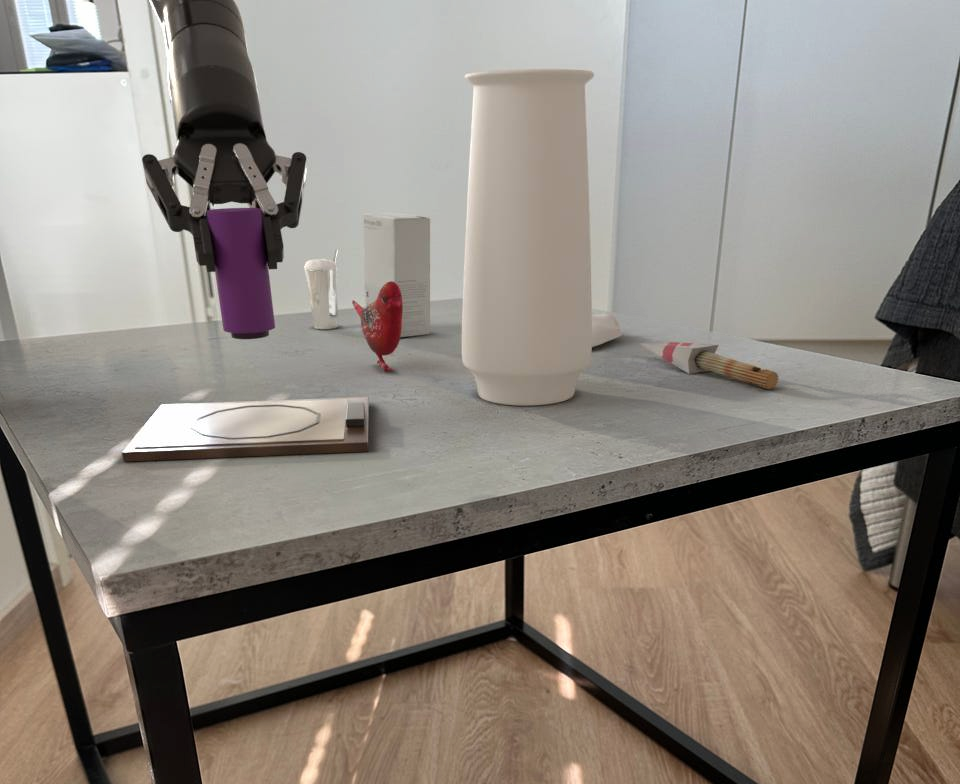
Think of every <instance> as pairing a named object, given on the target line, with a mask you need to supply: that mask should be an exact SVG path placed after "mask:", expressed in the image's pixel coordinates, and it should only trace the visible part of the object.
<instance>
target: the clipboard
mask: <svg viewBox="0 0 960 784" xmlns="http://www.w3.org/2000/svg"><path fill="white" fill-rule="evenodd" d="M369 425H370V398H369V396H357V397H329V398H303V399H275V400H273V399H272V400H251V401H249V400H246V401H245V400H244V401H221V402H197V403H196V402H195V403H169V404H168V403H166V404H160V405H159V407H158V408H157V409H156V411H154V413H153V414H152V416H150V418H149V419H148V420H147V422H145V424H144V425H143V426H142V427H141V429H140V430H139V431H138V432H137V434H136V435H135V436H134V437H133V439H132V440H131V441H130V442H129V443H128V445H126V447H125V448H124V449H123V451H121V456H122V460H123V462H124V463H125V462H126V463H127V462H150V461H152V462H153V461H154V462H155V461H173V460H174V461H175V460H176V461H177V460H199V459H200V460H201V459H223V458H224V459H225V458H246V457H249V458H250V457H270V456H292V455H294V456H295V455H296V456H297V455H313V454H314V455H316V454H339V453H340V454H341V453H364V452H365V453H366V452H367V453H368V452H369V427H370V426H369Z"/></svg>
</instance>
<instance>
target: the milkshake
mask: <svg viewBox="0 0 960 784" xmlns="http://www.w3.org/2000/svg"><path fill="white" fill-rule="evenodd" d="M338 251H339V250H338V249H335V252H334V254H333V259H326V258H314V259H309V260H307V261H306V262H305V264H304V266H303V269H304V275H305V280H306V285H307V290H308V297H309V303H310V304H309V305H310V308H311V315H312V322H313V327H314V329H317V330H333V329H337V328H338V327H339V319H338V317H339V316H338V315H339V314H338V313H339V311H338V264H337V263H336V260H337V255H338Z"/></svg>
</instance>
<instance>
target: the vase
mask: <svg viewBox="0 0 960 784" xmlns="http://www.w3.org/2000/svg"><path fill="white" fill-rule="evenodd" d="M594 77H595V73H594V71H592V70H585V69H584V70H583V69H566V68H565V69H563V68H560V69H559V68H544V69H543V68H537V69H536V68H533V69H532V68H531V69H503V70H487V71H486V70H485V71H484V70H483V71H475V72H470V73H466V74H465V75H464V80H465V81H466V82H467V83H468V84H470V85H471V86H472V88H473V90H472V91H473V93H472V109H471V110H472V111H471V125H470V126H471V127H470V143H469V144H470V145H469V160H468V178H467V196H466V197H467V199H466V216H465V217H466V218H465V236H464V237H465V239H464V262H463V283H462V284H463V286H462V313H461V314H462V316H461V361H462V364H463V366H464V367H465V368H466V369H468V370H469V372H470V373H471V374H472V376H473V378H474V380H475V384H476V390H477V395H478V396H479V397H480V398H481V399H482V400H485V401H486V402H490V403H493V404H499V405H506V406H522V407H523V406H525V407H528V406H530V407H531V406H545V405H553V404H557V403H561V402H562V403H563V402H565V401H567V400H570V399H572V397H573V396H574V395H575V392H576V387H577V383H578V380H579V377H580V375H581V374H582V372H583V371H584V370H585V369H586V368H587V367H588V366H590V364H591V362H592V351H593V350H592V349H593V347H592V311H593V306H592V305H593V302H592V299H593V298H592V258H591V257H592V256H591V253H592V252H591V251H592V250H591V219H590V216H591V215H590V191H589V190H590V188H589V159H588V156H589V155H588V135H587V134H588V132H587V110H586V109H587V107H586V106H587V105H586V84H587V83H589V82H590V81H591V80H593V78H594Z"/></svg>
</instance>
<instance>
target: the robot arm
mask: <svg viewBox="0 0 960 784" xmlns="http://www.w3.org/2000/svg"><path fill="white" fill-rule="evenodd" d="M149 2H150V5H151V6H152V9H153V10H154V13H155V15H156V16H157V17H156V18H157V19H158V21H159V23H160V26H161V28H162V31H163V36H164V43H165V49H166V50H165V51H166V57H167V83H168V92H169V103H170V106H171V111H172V117H173V118H172V119H173V124H174V125H173V126H174V132H175V140H176V146H175V149H174V151H173V153H172V156H171V157H166V158H163V159H160V160H158V158H157V157H156V156H155V155H154V154H151V153H147V154H144V155H143V156H142V158H141V162H142V168H143V172H144V177H145V182H146V186H147V187H148V189H149V191H150V193H151V195H152V197H153V199H154V200H155V203H156V204H157V206H158V208H159V210H160V212H161V215H162V216H163V218H164V219H165V222H166V224H167V225H168V227H169V229H170V230H171V231H172V232H174V233H180V232H182V231H187V232H189V233H190V234H191V235H192V238H193V246H194V253H195V259H196V262H197V264H198V265H199V267H203V266H206V267H205V268H206V272H207V273H215V272H216V270H215V262H214V254H213V248H212V241H211V235H210V228H209V222H208V219H207V213H206V211H207V210H212V209H216V205H223V204H228V203H235V204H236V203H237V204H247V206H248V208H260V209H261V211H262V221H263V229H264V238H265V246H266V255H267V263H268V270H278V263H283V261H284V258H285V255H284V253H285V252H284V247H285V246H284V240H283V234H282V229H283V228H285V227H287V228H289V229H296V228H298V226H299V224H300V217H301V211H302V208H303V207H302V206H303V200H304V194H305V189H306V183H307V155H306V154H305V153H303V152H301V151H295V152H294V153H292V156H291V157H286V156H282V155H276V152H275V150H274V148H272V146H271V145H270V144H269V143H268V142H269V141H268V139H267V134H266V128H265V123H264V116H263V111H262V105H261V100H260V95H259V90H258V84H257V79H256V74H255V69H254V68H253V65H252V61H251V59H250V56H249V51H248V45H247V38H246V33H245V27H244V23H243V18H242V14H241V12H240V9H239V7H238V5H237V3H236V1H235V0H149ZM275 173H277V174H279V176H280V180H281V182H282V184H284V186H285V187H286V188H285V192H284V199H283V201H282V202H279V203H276V201H275V199H274V198H273V196H272V194H271V192H270V190H269V186H268V183H269V181H270V180H271V178H272V177H274V174H275ZM177 175H178V176H179V177H180V178H181V179H182V180H183V181H184V182H186V183H187V184H188V185H189V186H190V187H191V188H192V190H193V191H192V196H191V201H190V205H189V206H187V205H183V204H181V201H180V200H179V198H178V196H177V194H176V192H175V190H174V188H173V187H174V185H175V179H174V177H175V176H177Z"/></svg>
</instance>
